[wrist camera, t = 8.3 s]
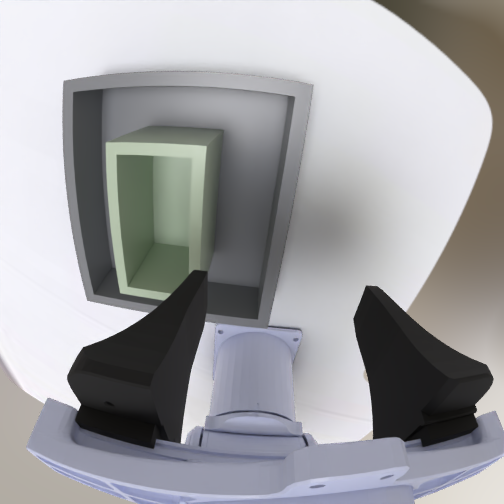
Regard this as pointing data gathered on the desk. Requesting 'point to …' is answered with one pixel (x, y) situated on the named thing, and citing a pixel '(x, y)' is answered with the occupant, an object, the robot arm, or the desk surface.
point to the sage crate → (162, 205)
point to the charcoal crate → (230, 178)
